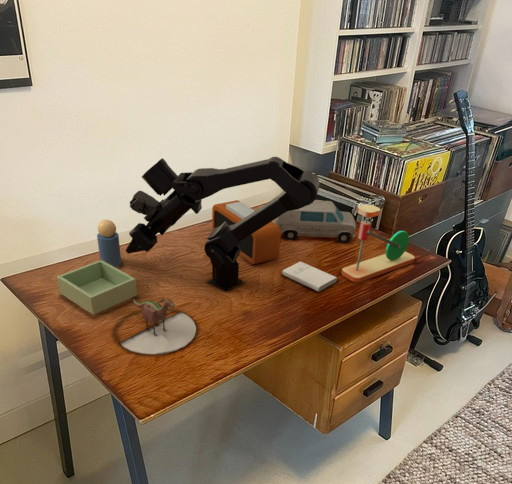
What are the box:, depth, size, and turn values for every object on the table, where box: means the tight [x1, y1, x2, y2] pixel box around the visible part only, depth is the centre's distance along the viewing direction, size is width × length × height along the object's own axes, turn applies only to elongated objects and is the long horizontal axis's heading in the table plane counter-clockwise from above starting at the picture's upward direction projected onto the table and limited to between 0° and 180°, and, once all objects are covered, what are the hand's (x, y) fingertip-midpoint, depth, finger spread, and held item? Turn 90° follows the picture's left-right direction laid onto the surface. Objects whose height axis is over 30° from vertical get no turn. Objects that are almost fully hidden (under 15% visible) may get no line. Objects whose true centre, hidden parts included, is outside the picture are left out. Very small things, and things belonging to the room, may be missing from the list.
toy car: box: [273, 199, 357, 244], centre depth 163 cm, size 11×25×10 cm, turn 90°
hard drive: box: [281, 261, 338, 293], centre depth 142 cm, size 2×8×12 cm
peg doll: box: [96, 219, 122, 268], centre depth 138 cm, size 5×5×13 cm
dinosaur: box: [118, 298, 197, 356], centre depth 115 cm, size 18×18×11 cm
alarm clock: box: [211, 200, 282, 265], centre depth 152 cm, size 24×8×11 cm, turn 34°
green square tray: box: [56, 259, 138, 315], centre depth 127 cm, size 14×13×6 cm
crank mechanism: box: [340, 204, 416, 283], centre depth 144 cm, size 25×7×19 cm, turn 126°
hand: (133, 244), depth 137 cm, fingers open, 9 cm apart
